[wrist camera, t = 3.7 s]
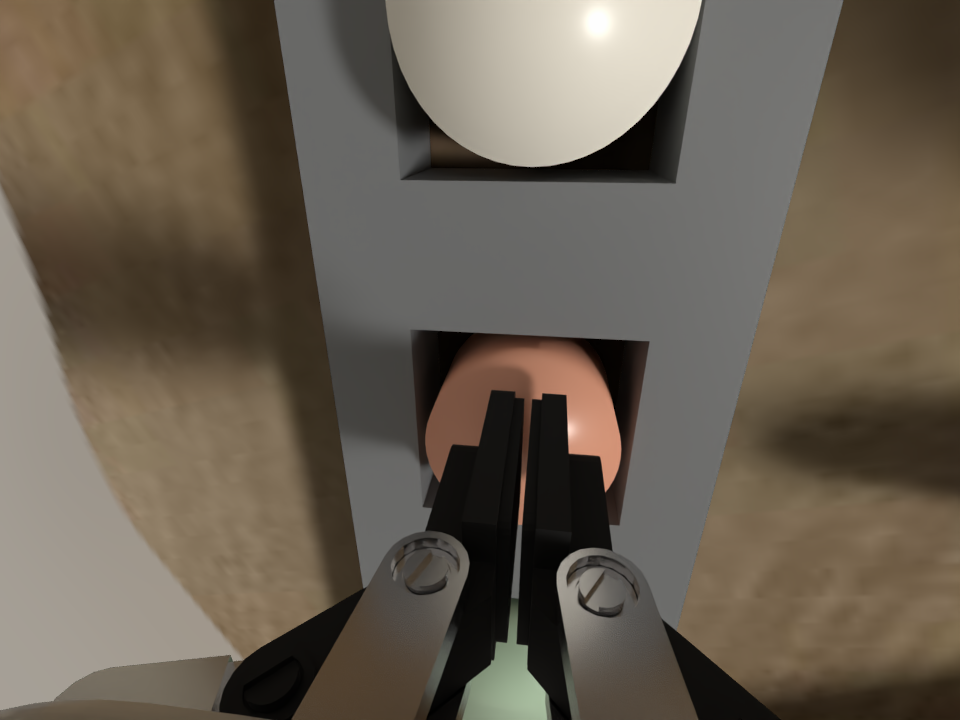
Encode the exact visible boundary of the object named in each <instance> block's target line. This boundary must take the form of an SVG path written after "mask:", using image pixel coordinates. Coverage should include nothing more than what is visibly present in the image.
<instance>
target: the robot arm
mask: <svg viewBox="0 0 960 720" xmlns="http://www.w3.org/2000/svg"><path fill="white" fill-rule="evenodd" d="M524 400H525V399H524V398H516V392H515V391H501V390H491V393H490V398H489V402H488V407H487V411H486V416H485V420H484V424H483V429H482V433H481V438H480V442H479V446H470V445H457V444H453V445H452V446H451V449H450V451H449V455H448V458H447V461H446V464H445V468H444V471H443V474H442V477H441V481H440V484H439V487H438V490H437V494H436V497H435V500H434V503H433V507H432V510H431V513H430V517H429V520H428V523H427V526H426V530H425V531H424V532H417V533H414V534H411V535H409V536H406V537H404V538H402V539H401V540H399V541H398V542H397V543H395V544H394V545H393V546H392V547H391V548H390V550H389V551H388V552H387V553H386V555H385V557H384V558H383V560H382V562H381V564H380V565H379V567H378V569H377V571H376V572H375V574H374V576H373V578H372V579H371V581H370V583H369V585H368V586H367V587H365V588H364V589H362V590H360V591H358V592H357V593H355V594H353V595H351V596H350V597H348V598H346V599H344V600H343V601H341V602H339V603H338V604H336V605H334V606H332V607H331V608H329V609H327V610H325V611H324V612H322V613H320V614H318V615H317V616H315V617H313V618H311V619H310V620H308V621H306V622H304V623H303V624H301V625H299V626H297V627H296V628H294V629H292V630H291V631H289V632H287V633H285V634H284V635H282V636H280V637H278V638H277V639H275V640H273V641H271V642H270V643H268V644H266V645H264V646H263V647H261V648H259V649H258V650H257V651H255V652H254V653H253V654H251V655H250V656H248V657H247V658H246V659H245V660H243V661H234V662H233V661H232V658H231V655H226V656H218V657H207V658H199V659H188V660H179V661H169V662H161V663H150V664H141V665H132V666H122V667H113V668H108V669H104V670H100V671H97V672H93V673H91V674H89V675H88V676H86V677H84V678H82V679H80V680H78V681H76V682H75V683H73V684H72V685H71V686H70V687H69V688H67V689H66V690H65V691H64V692H62V693H61V694H60V695H59V696H58V697H56V699H55V700H54V701H51V702H42V703H34V704H29V705H24V706H19V707H14V708H9V709H5V710H0V720H462V719H463V715H464V712H465V708H466V705H467V701H468V698H469V695H470V690H471V683H472V679H473V678H474V677H476V676H477V675H478V674H479V673H481V672H482V671H483V670H485V669H486V668H487V667H488V666H490V665H491V660H493V661H494V658H495V649H496V642H503V643H507V640H508V629H509V618H510V607H511V596H512V585H513V574H514V562H515V551H516V540H517V529H518V518H519V507H520V493H521V470H522V447H523V425H524ZM516 644H518V645H526V646H528V655H527V670H528V671H529V672H530V674H531V675H532V676H533V677H534V678H535V680H536V681H537V682H538V683H539V684H540V686H541V687H542V688H543V689H544V690H545V706H546V714H547V720H781V719H779V718H778V717H777V716H776V715H775V714H773V713H772V712H771V711H770V710H769V709H768V708H766V707H765V706H764V705H763V704H762V703H761V702H759V701H758V700H757V699H756V698H755V697H753V696H752V695H751V694H750V693H749V692H748V691H746V690H745V689H744V688H743V687H742V686H741V685H739V684H738V683H737V682H736V681H735V680H733V679H732V678H731V677H730V676H729V675H728V674H726V673H725V672H724V671H723V670H722V669H721V668H719V667H718V666H717V665H716V664H715V663H713V662H712V661H711V660H710V659H709V658H708V657H706V656H705V655H704V654H703V653H702V652H701V651H699V650H698V649H697V648H696V647H695V646H693V645H692V644H691V643H690V642H689V641H688V640H686V639H685V638H684V637H683V636H682V635H681V634H679V633H678V632H677V631H676V630H675V629H673V628H672V627H671V626H670V625H669V624H668V623H666V622H665V621H664V620H663V619H662V618H661V616H660V614H659V611H658V608H657V605H656V603H655V600H654V597H653V595H652V592H651V589H650V586H649V584H648V582H647V580H646V578H645V577H644V575H643V573H642V571H641V570H640V569H639V568H638V567H637V566H636V565H635V564H634V563H633V562H632V561H630V560H629V559H627V558H625V557H624V556H622V555H621V554H619V553H616V552H613V549H612V541H611V534H610V526H609V518H608V510H607V502H606V495H605V487H604V479H603V471H602V463H601V458H600V456H594V455H581V454H569V445H568V418H567V395H562V394H547V393H542V400H541V399H532V408H531V420H530V433H529V445H528V458H527V470H526V483H525V495H524V508H523V521H522V537H521V558H520V579H519V600H518V621H517V642H516Z"/></svg>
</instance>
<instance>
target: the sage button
mask: <svg viewBox="0 0 960 720" xmlns="http://www.w3.org/2000/svg"><path fill="white" fill-rule="evenodd" d="M518 600H519V599H517V598H511V607H510V618H509V629H508V640H507V643H503V642H496V649H495V658H494V661H493V660H491V665H490V666H488V667H487V668H486V669H485V670H483V671H482V672H481V673H479V674H478V675H477V676H476V677H474V678H473V679H472V683H471V690H470V695H469V698H468V701H467V705H466V708H465V712H464V715H463V719H462V720H547V714H546V706H545V690H544V689H543V688H542V687H541V686H540V684H539V683H538V682H537V681H536V680H535V678H534V677H533V676H532V675H531V674H530V672H529V671H528V670H527V655H528V646H526V645H518V644H516V642H517V621H518Z"/></svg>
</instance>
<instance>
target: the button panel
mask: <svg viewBox="0 0 960 720" xmlns="http://www.w3.org/2000/svg"><path fill="white" fill-rule="evenodd" d="M274 4H275V10H276V17H277V24H278V30H279V37H280V43H281V50H282V56H283V63H284V70H285V76H286V83H287V89H288V96H289V102H290V109H291V116H292V122H293V129H294V135H295V142H296V149H297V155H298V162H299V168H300V175H301V181H302V188H303V195H304V201H305V208H306V214H307V221H308V227H309V234H310V241H311V247H312V254H313V260H314V267H315V273H316V280H317V287H318V293H319V300H320V306H321V313H322V320H323V326H324V333H325V339H326V346H327V352H328V359H329V366H330V372H331V379H332V385H333V392H334V398H335V405H336V412H337V418H338V425H339V431H340V438H341V444H342V451H343V458H344V464H345V471H346V477H347V484H348V490H349V497H350V504H351V510H352V517H353V523H354V530H355V537H356V543H357V550H358V556H359V563H360V569H361V576H362V583H363V589H364V588H365V587H367V586H368V585H369V583H370V581H371V579H372V578H373V576H374V574H375V572H376V571H377V569H378V567H379V565H380V564H381V562H382V560H383V558H384V557H385V555H386V553H387V552H388V551H389V550H390V548H391V547H392V546H393V545H394V544H395V543H397V542H398V541H399V540H401V539H402V538H404V537H406V536H409V535H411V534H414V533H417V532H424V531H425V530H426V526H427V523H428V520H429V517H430V513H431V510H432V507H433V503H434V500H435V497H436V494H437V490H438V487H439V484H440V483H439V481H438V479H437V478H436V476H435V475H434V473H433V470H432V468H431V466H430V464H429V460H428V457H427V453H426V445H425V434H426V428H427V423H428V420H429V417H430V414H431V412H432V409H433V407H434V405H435V402H436V400H437V397H438V395H439V392H440V366H439V342H438V331H453V332H473V333H493V334H513V335H533V336H553V337H574V338H594V339H614V340H625V344H624V351H623V358H622V366H621V373H620V380H619V387H618V394H617V401H616V408H615V416H616V420H617V425H618V429H619V434H620V440H621V460H620V464H619V468H618V471H617V474H616V476H615V478H614V480H613V482H612V484H611V485H610V487H609V489H608V490H607V491H606V492H605V495H606V502H607V510H608V518H609V526H610V534H611V541H612V549H613V552H616V553H619V554H621V555H622V556H624V557H625V558H627V559H629V560H630V561H632V562H633V563H634V564H635V565H636V566H637V567H638V568H639V569H640V570H641V571H642V573H643V575H644V577H645V578H646V580H647V582H648V584H649V586H650V589H651V592H652V595H653V597H654V600H655V603H656V605H657V608H658V611H659V614H660V616H661V618H662V619H663V620H664V621H665V622H666V623H668V624H669V625H670V626H671V627H672V628H673V629H675V630H677V627H678V623H679V619H680V615H681V612H682V608H683V604H684V600H685V597H686V593H687V589H688V585H689V581H690V578H691V574H692V570H693V566H694V563H695V559H696V555H697V551H698V547H699V544H700V540H701V536H702V532H703V529H704V525H705V521H706V517H707V513H708V510H709V506H710V502H711V498H712V495H713V491H714V487H715V483H716V480H717V476H718V472H719V468H720V464H721V461H722V457H723V453H724V449H725V446H726V442H727V438H728V434H729V430H730V427H731V423H732V419H733V415H734V412H735V408H736V404H737V400H738V396H739V393H740V389H741V385H742V381H743V378H744V374H745V370H746V366H747V362H748V359H749V355H750V351H751V347H752V344H753V340H754V336H755V332H756V329H757V325H758V321H759V317H760V313H761V310H762V306H763V302H764V298H765V295H766V291H767V287H768V283H769V279H770V276H771V272H772V268H773V264H774V261H775V257H776V253H777V249H778V245H779V242H780V238H781V234H782V230H783V227H784V223H785V219H786V215H787V212H788V208H789V204H790V200H791V196H792V193H793V189H794V185H795V181H796V178H797V174H798V170H799V166H800V162H801V159H802V155H803V151H804V147H805V144H806V140H807V136H808V132H809V128H810V125H811V121H812V117H813V113H814V110H815V106H816V102H817V98H818V95H819V91H820V87H821V83H822V79H823V76H824V72H825V68H826V64H827V61H828V57H829V53H830V49H831V45H832V42H833V38H834V34H835V30H836V27H837V23H838V19H839V15H840V11H841V8H842V4H843V0H702V2H701V7H700V11H699V16H698V20H697V23H696V26H695V29H694V32H693V35H692V38H691V41H690V44H689V46H688V48H687V50H686V53H685V55H684V57H683V59H682V61H681V64H680V66H679V67H678V69H677V71H676V73H675V74H674V76H673V78H672V79H671V81H670V83H669V84H668V86H667V88H666V89H665V90H664V92H663V93H662V94H661V96H660V97H659V101H658V108H657V115H656V122H655V130H654V137H653V144H652V151H651V158H650V165H649V170H587V169H486V168H431V152H430V129H429V116H428V114H427V113H426V112H425V111H424V109H423V108H422V107H421V105H420V104H419V102H418V101H417V99H416V98H415V96H414V94H413V93H412V91H411V90H410V88H409V86H408V84H407V81H406V79H405V77H404V75H403V73H402V71H401V69H400V66H399V63H398V60H397V57H396V54H395V51H394V48H393V44H392V40H391V35H390V31H389V27H388V19H387V11H386V2H385V0H274ZM521 537H522V525H518V529H517V540H516V551H515V562H514V574H513V585H512V596H511V598H517V599H519V579H520V558H521Z"/></svg>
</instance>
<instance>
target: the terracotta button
mask: <svg viewBox="0 0 960 720" xmlns="http://www.w3.org/2000/svg"><path fill="white" fill-rule="evenodd" d="M491 390H501V391H515V392H516V398H524V399H525V400H524V425H523V447H522V470H521V493H520V507H519V518H518V525H522V521H523V508H524V495H525V483H526V470H527V458H528V445H529V433H530V420H531V408H532V399H541V400H542V393H547V394H562V395H567V418H568V445H569V454H581V455H594V456H600V458H601V463H602V471H603V479H604V487H605V492H606V491H607V490H608V489H609V487H610V485H611V484H612V482H613V480H614V478H615V476H616V474H617V471H618V468H619V464H620V460H621V440H620V434H619V429H618V425H617V420H616V416H615V411H614V406H613V402H612V397H611V392H610V388H609V383H608V379H607V375H606V371H605V368H604V365H603V363H602V361H601V359H600V357H599V355H598V354H597V352H596V351H595V349H594V348H593V347H592V346H591V345H590V343H589V342H588V341H586V340H585V339H584V338H574V337H553V336H533V335H513V334H493V333H474V334H473V335H472V336H470V337H469V338H468V339H467V340H466V341H465V342H464V343H463V345H462V346H461V347H460V349H459V350H458V351H457V353H456V355H455V357H454V359H453V361H452V363H451V366H450V368H449V371H448V373H447V376H446V378H445V380H444V383H443V385H442V388H441V390H440V392H439V395H438V397H437V400H436V402H435V405H434V407H433V409H432V412H431V414H430V417H429V420H428V423H427V428H426V434H425V445H426V453H427V457H428V460H429V464H430V466H431V468H432V470H433V473H434V475H435V476H436V478H437V479H438V481H439V483H440V481H441V477H442V474H443V471H444V468H445V464H446V461H447V458H448V455H449V451H450V449H451V446H452V445H453V444H457V445H470V446H479V442H480V438H481V433H482V429H483V424H484V420H485V416H486V411H487V407H488V402H489V398H490V393H491Z"/></svg>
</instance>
